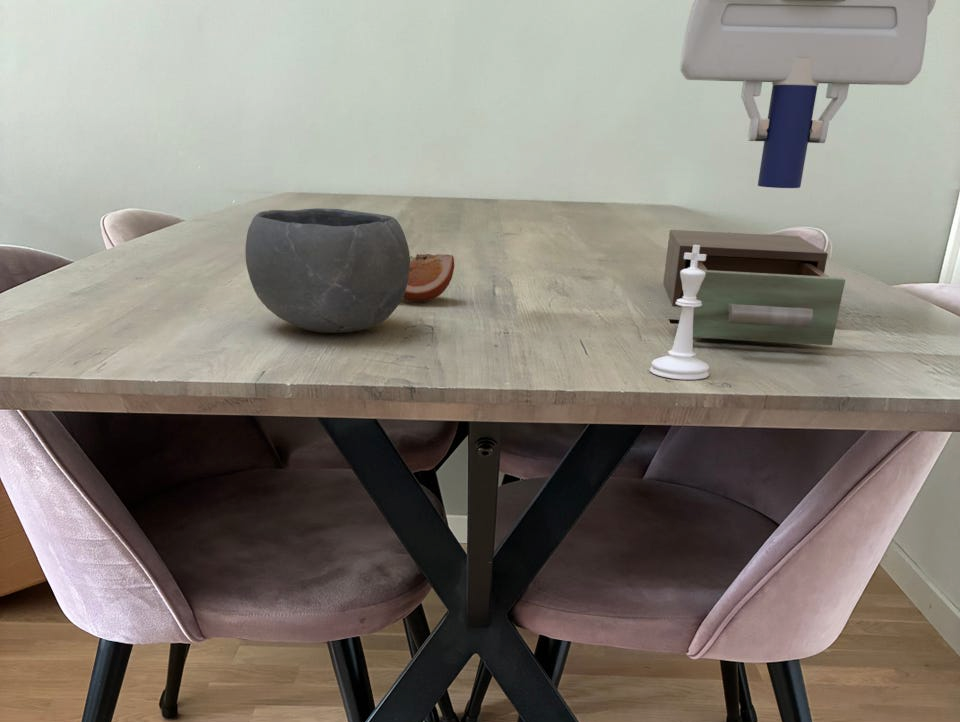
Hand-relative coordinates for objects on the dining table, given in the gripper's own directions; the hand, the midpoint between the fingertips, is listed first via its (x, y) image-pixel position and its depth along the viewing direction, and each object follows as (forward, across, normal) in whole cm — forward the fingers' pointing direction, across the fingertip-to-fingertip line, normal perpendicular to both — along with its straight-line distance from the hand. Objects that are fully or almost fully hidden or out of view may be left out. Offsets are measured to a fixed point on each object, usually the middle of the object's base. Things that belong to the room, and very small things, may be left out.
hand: (785, 142), depth 86 cm
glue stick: (+4, 0, 0) cm, 4 cm away
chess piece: (+17, +9, +17) cm, 25 cm away
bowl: (+17, +41, +8) cm, 45 cm away
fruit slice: (+17, +36, -10) cm, 41 cm away
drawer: (+16, +1, +1) cm, 16 cm away
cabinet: (+17, +1, -14) cm, 22 cm away
